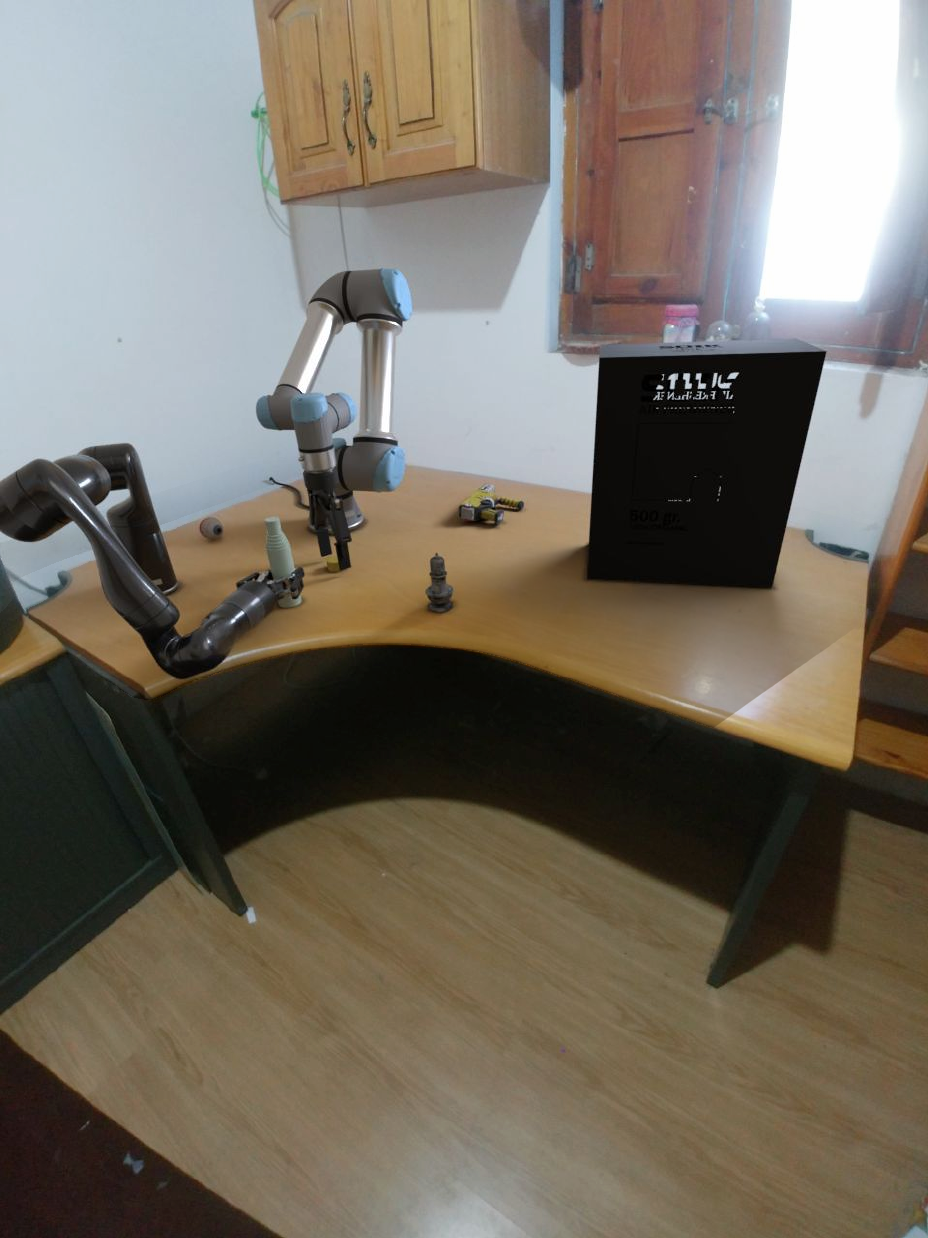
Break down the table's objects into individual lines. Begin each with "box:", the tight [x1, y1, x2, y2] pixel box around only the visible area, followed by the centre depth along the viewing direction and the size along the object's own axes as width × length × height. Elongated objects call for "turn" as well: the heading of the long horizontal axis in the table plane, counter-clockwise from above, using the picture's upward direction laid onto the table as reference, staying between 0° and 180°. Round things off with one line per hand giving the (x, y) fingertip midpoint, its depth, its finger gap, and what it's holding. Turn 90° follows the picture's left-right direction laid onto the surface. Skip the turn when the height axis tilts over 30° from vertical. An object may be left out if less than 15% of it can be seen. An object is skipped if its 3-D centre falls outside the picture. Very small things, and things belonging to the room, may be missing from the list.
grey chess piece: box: [424, 552, 455, 613], centre depth 122 cm, size 6×6×12 cm
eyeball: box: [198, 516, 224, 541], centre depth 163 cm, size 6×6×6 cm
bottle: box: [264, 516, 302, 609], centre depth 126 cm, size 5×5×19 cm
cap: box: [326, 555, 343, 573], centre depth 144 cm, size 4×4×2 cm
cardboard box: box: [586, 338, 828, 589], centre depth 126 cm, size 38×20×45 cm, turn 78°
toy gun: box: [457, 482, 525, 525], centre depth 171 cm, size 5×24×15 cm
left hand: (290, 570), depth 129 cm, fingers closed on bottle, 4 cm apart
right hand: (335, 561), depth 143 cm, fingers open, 9 cm apart
